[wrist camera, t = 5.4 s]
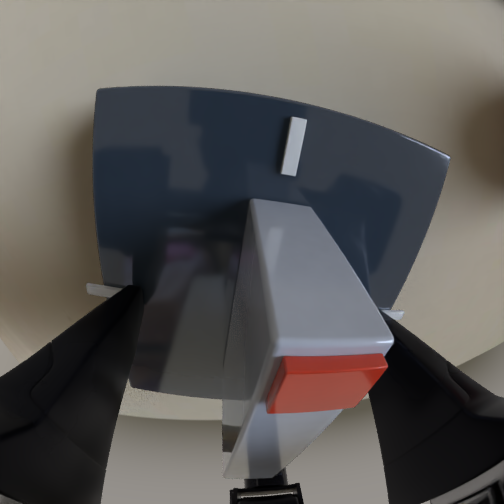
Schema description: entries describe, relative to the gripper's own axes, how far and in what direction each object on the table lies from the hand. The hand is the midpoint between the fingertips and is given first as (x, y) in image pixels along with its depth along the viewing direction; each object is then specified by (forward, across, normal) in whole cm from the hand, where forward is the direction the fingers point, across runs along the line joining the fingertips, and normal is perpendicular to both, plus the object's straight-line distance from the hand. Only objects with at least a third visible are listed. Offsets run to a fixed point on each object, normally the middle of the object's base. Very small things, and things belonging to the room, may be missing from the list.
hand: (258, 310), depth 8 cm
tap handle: (0, 0, 0) cm, 0 cm away
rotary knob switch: (+3, 0, 0) cm, 3 cm away
